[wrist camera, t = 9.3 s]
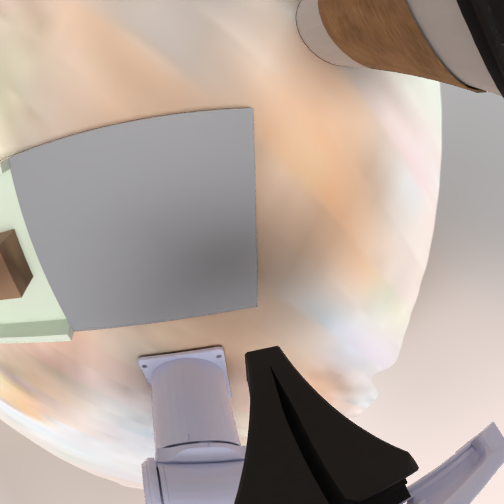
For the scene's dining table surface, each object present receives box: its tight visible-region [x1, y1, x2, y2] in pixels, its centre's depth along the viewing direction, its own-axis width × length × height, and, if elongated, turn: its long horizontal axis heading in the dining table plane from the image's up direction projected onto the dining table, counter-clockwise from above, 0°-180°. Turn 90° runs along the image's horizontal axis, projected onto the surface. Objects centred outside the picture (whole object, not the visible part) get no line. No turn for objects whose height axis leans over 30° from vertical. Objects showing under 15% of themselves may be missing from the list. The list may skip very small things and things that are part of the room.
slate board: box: [8, 107, 258, 331], centre depth 17 cm, size 14×15×1 cm
